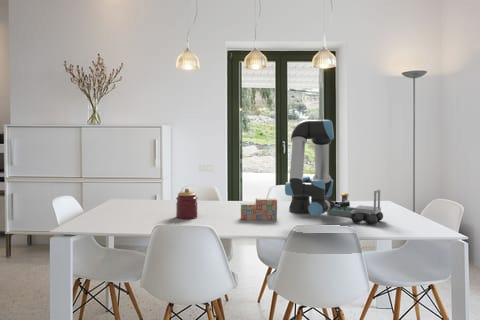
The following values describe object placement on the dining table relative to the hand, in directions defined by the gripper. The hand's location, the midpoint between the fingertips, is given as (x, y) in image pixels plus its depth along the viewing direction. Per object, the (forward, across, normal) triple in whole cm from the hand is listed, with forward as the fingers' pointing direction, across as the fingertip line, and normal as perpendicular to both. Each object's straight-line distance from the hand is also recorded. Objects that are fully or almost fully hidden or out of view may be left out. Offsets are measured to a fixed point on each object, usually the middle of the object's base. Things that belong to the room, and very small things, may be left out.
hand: (337, 201), depth 230 cm
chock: (+1, +10, -10) cm, 14 cm away
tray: (+10, 0, -10) cm, 14 cm away
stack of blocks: (-37, -35, -10) cm, 52 cm away
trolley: (-6, +20, -10) cm, 23 cm away
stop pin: (+10, 0, -9) cm, 14 cm away
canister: (-59, -73, -10) cm, 95 cm away
